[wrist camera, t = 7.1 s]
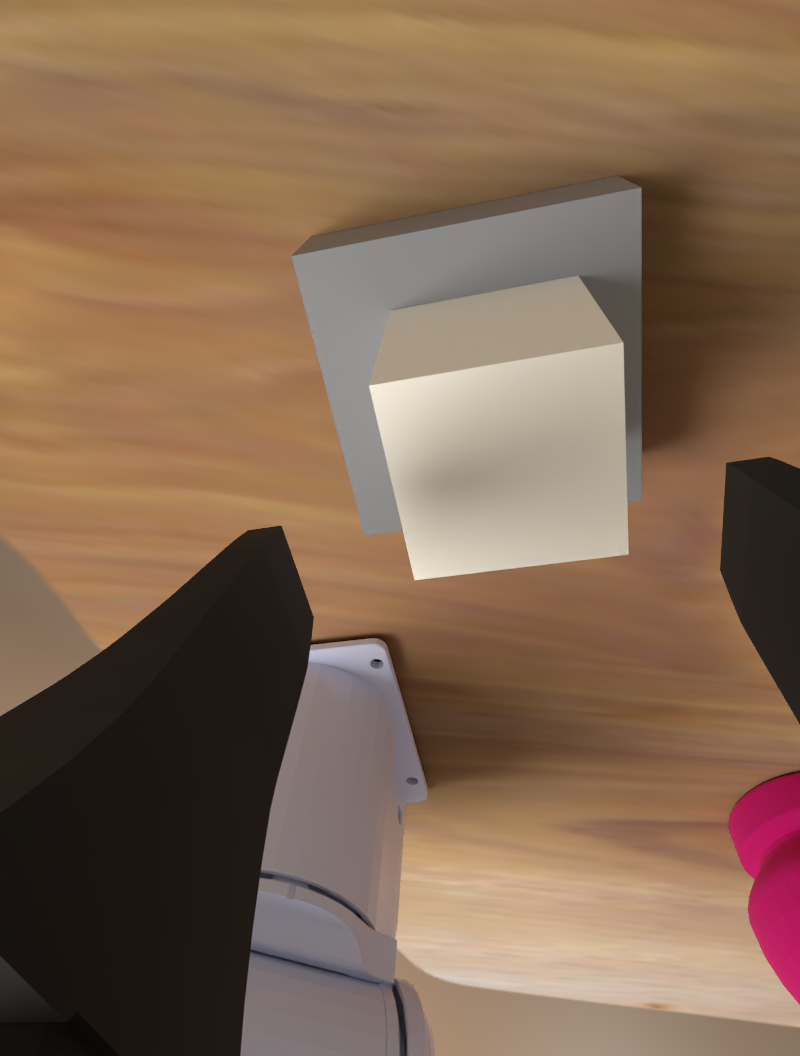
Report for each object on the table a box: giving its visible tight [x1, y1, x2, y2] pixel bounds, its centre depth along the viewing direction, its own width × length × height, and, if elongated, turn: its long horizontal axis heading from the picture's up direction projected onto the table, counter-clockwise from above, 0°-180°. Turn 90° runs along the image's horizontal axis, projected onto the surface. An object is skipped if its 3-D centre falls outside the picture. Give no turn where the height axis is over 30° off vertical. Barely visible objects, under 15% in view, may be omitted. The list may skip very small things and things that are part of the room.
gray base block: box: [291, 176, 642, 535], centre depth 19 cm, size 8×8×3 cm
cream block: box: [369, 276, 628, 580], centre depth 15 cm, size 4×4×5 cm
